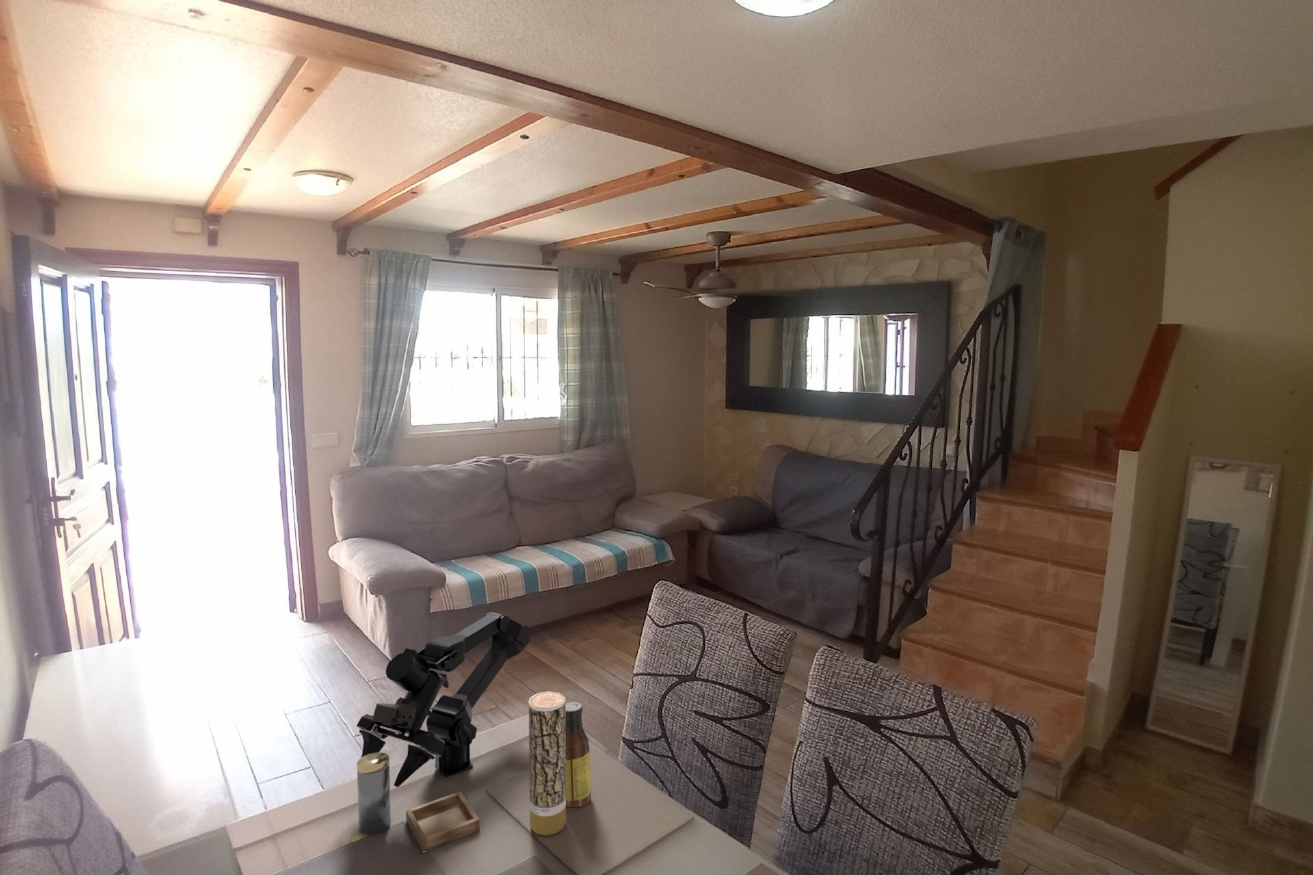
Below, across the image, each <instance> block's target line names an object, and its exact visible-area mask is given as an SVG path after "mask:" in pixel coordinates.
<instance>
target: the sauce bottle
mask: <svg viewBox="0 0 1313 875" xmlns="http://www.w3.org/2000/svg"><path fill="white" fill-rule="evenodd" d="M582 717H583V705H582V704H581V703H579V702H578V701H570V702H565V731H566V807H570V808H572V809H573V808H575V809H576V808H580V807H584V806H585V805H587V804H588V803H589V802H590V801H591V797H592V795H591V794H592V778H591V775H592V774H591V758H590V754H591V753H590V744H589V738H588V736H587V734H586V732H585V730H584V727H583V719H582Z"/></svg>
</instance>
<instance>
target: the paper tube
mask: <svg viewBox="0 0 1313 875" xmlns="http://www.w3.org/2000/svg"><path fill="white" fill-rule="evenodd" d="M565 704H566V697H565V696H564V695H563V694H562V693H560V692H558V691H557V692H556V691H542V692H538V693H536V694H534V695H532V696H531V697H529V700H528V746H529V747H528V756H529V757H528V758H529V759H528V761H529V766H528V767H529V822H530V823H529V825H530V826H529V827H530V828H531V830H532V831H533V832H534V833H535V834H537V835H540V836H552V835H556V834H558V833H559V832H561V830H563V828H564V827H565V825H566V821H567V806H566V731H565Z"/></svg>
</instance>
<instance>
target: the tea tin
mask: <svg viewBox="0 0 1313 875" xmlns="http://www.w3.org/2000/svg"><path fill="white" fill-rule="evenodd" d="M356 772H357V774H356V775H357V776H356V777H357V802H358V804H357V806H358V830H359V833H360V834H361V835H363V836H375V834H376V835H379V834H381V833H383V832H385V831H386V830H388V828H390V827H391V824H392V818H391V817H392V812H391V811H392V809H391V783H390V782H391V781H390V780H391V778H390V756H389V755H388V754H387V753H385V752H381V751H380V752H377V753H371V754H368V755H365V756H363V757H362V758H361V757H360V758H359V759H358V761H357V763H356ZM384 830H385V831H384ZM382 831H383V832H382ZM378 833H379V834H378Z"/></svg>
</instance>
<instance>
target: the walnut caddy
mask: <svg viewBox="0 0 1313 875" xmlns="http://www.w3.org/2000/svg"><path fill="white" fill-rule="evenodd" d="M405 818H406V819H405V821H406V824H407V825H408V827H409V829H410V831H411V833H412V835H413V837H414V836H415V837H414V839H415V838H416V839H415V840H417V841H416V842H418V843H417V845H418V844H419V845H418V846H419V848H420V847H421V848H420V850H421V849H422V850H421V852H422V851H426V852H429V851H431V850H434V849H435V848H438V847H442V846H444V845H446V844H449V843H452V842H454V841H457V840H458V839H461V838H464V837H467V836H468V835H471V834H474V833H476V832H479V831H480V826H481V825H480V821H481V820H480V817H478V815H477V814H476V812H475V811H474V809H473V807H472V806H471V805H470V804H469V802H468V800H467V799H466V797H465V796H464V795H463V794H462V791H457V792H454V793H452V794H449V795H446V796H443V797H440V798H438V799H434V800H432V801H429V802H426V803H424V804H421V805H418V806H415V807H412V808H409V809H407V810H405Z"/></svg>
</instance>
